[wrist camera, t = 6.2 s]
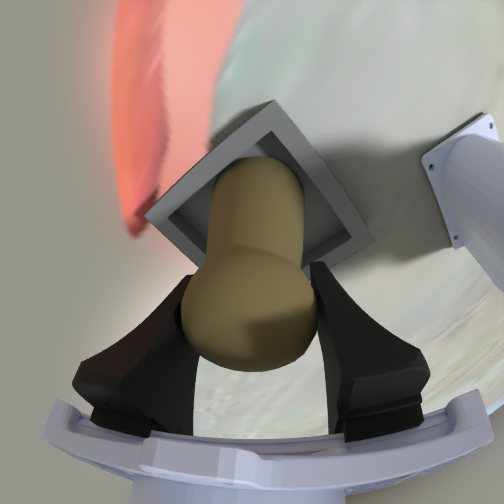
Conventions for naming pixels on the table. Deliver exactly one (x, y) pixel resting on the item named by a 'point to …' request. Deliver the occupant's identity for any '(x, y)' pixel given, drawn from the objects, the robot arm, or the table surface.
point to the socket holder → (286, 151)
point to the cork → (252, 272)
